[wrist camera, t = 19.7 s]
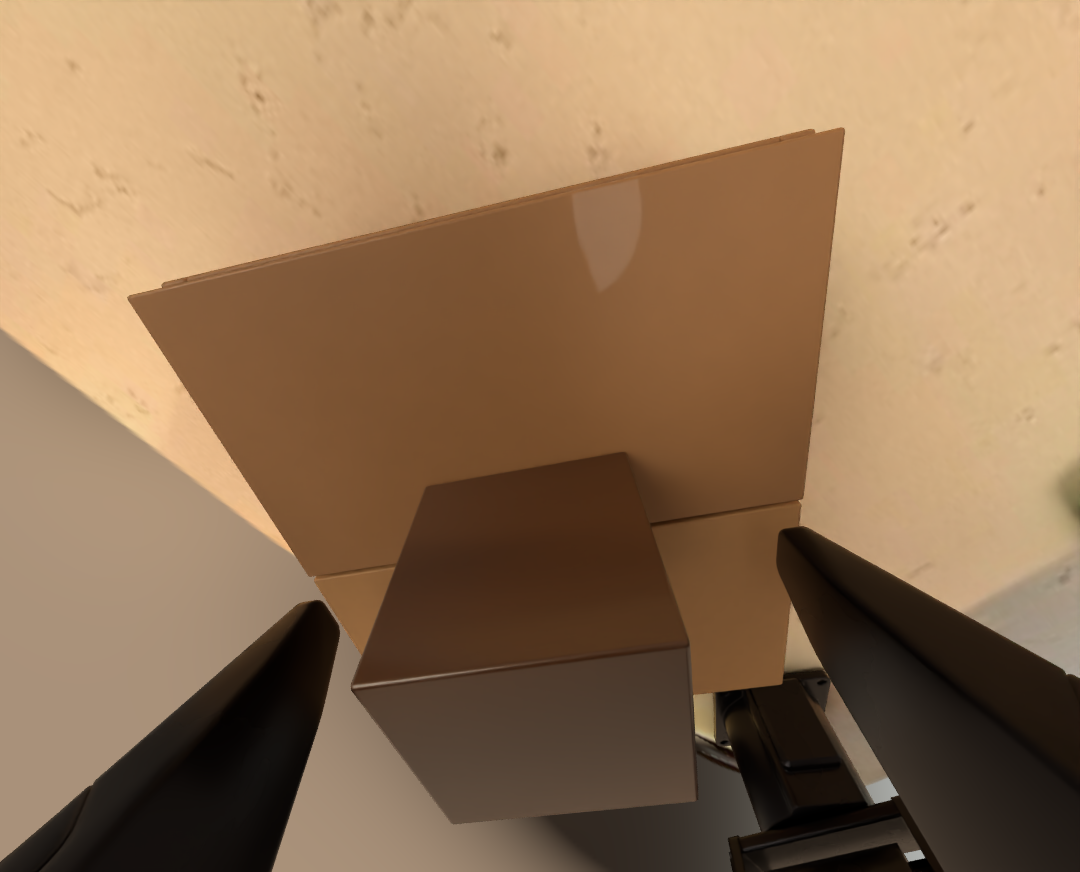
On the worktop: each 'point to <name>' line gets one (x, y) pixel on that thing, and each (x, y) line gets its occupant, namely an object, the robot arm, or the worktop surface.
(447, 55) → the worktop surface
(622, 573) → the block
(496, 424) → the bin
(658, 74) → the worktop surface
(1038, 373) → the worktop surface
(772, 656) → the flap
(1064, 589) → the worktop surface
